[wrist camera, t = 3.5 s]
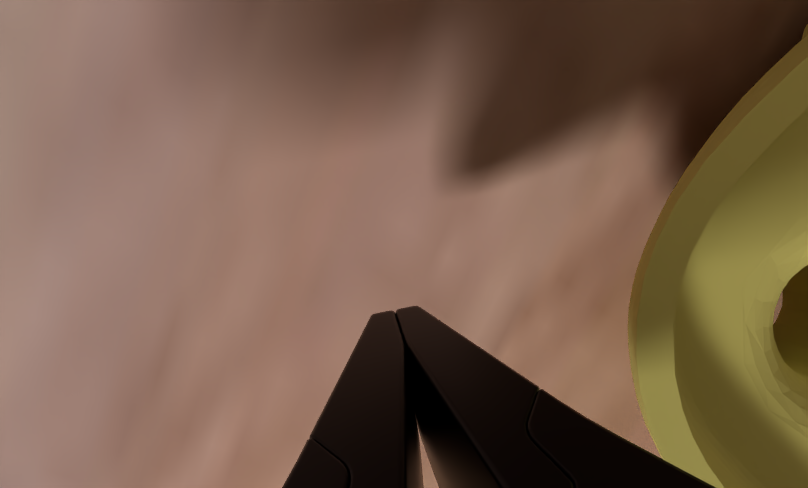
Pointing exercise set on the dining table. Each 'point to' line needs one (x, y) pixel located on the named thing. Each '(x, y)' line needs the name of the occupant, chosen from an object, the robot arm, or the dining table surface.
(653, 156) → the dining table surface
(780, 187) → the plastic component
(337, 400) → the robot arm
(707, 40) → the dining table surface
